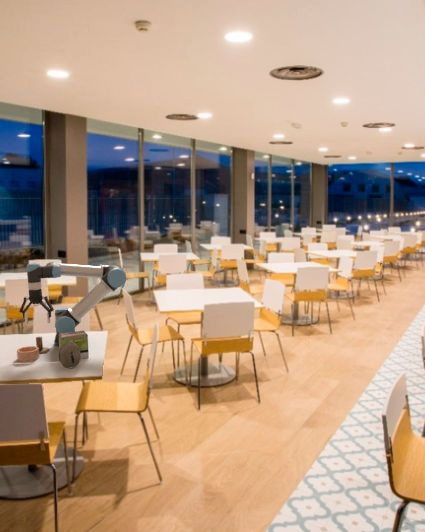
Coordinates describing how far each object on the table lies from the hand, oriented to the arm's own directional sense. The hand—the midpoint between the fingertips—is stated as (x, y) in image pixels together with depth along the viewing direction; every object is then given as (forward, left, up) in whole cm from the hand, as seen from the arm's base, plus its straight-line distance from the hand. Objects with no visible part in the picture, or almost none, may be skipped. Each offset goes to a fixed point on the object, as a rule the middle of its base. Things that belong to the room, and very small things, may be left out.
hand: (37, 323), depth 334 cm
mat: (0, 0, -18) cm, 18 cm away
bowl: (+3, +13, -18) cm, 23 cm away
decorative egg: (-26, +31, -19) cm, 45 cm away
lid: (0, 0, -18) cm, 18 cm away
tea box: (-24, +13, -19) cm, 33 cm away
